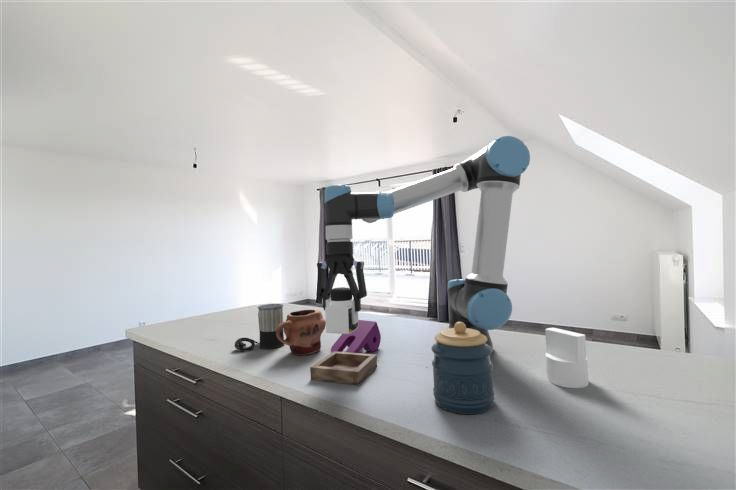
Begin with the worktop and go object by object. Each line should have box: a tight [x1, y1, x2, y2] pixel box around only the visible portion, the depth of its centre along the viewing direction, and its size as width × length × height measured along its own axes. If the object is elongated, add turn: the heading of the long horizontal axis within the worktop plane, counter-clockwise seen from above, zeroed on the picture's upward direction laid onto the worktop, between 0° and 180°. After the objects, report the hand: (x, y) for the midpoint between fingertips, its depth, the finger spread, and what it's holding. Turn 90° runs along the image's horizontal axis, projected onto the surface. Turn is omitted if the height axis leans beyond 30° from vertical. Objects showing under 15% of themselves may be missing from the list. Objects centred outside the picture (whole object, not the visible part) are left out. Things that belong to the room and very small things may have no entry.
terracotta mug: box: [276, 309, 326, 356], centre depth 116 cm, size 20×12×14 cm, turn 145°
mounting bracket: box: [330, 319, 382, 354], centre depth 114 cm, size 10×8×18 cm
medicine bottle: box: [324, 286, 359, 335], centre depth 96 cm, size 7×7×12 cm
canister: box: [431, 322, 495, 415], centre depth 76 cm, size 13×13×18 cm
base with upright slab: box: [544, 327, 589, 389], centre depth 84 cm, size 9×9×12 cm
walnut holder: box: [309, 351, 378, 386], centre depth 96 cm, size 14×14×3 cm
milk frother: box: [234, 303, 285, 352], centre depth 125 cm, size 14×16×15 cm
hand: (342, 322), depth 96 cm, fingers closed on medicine bottle, 7 cm apart
